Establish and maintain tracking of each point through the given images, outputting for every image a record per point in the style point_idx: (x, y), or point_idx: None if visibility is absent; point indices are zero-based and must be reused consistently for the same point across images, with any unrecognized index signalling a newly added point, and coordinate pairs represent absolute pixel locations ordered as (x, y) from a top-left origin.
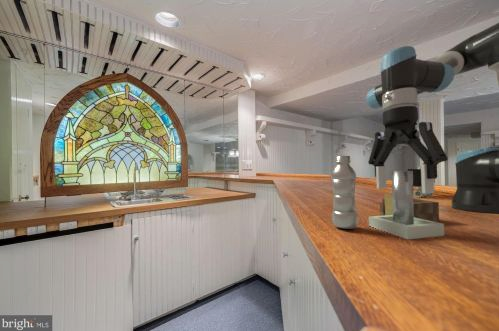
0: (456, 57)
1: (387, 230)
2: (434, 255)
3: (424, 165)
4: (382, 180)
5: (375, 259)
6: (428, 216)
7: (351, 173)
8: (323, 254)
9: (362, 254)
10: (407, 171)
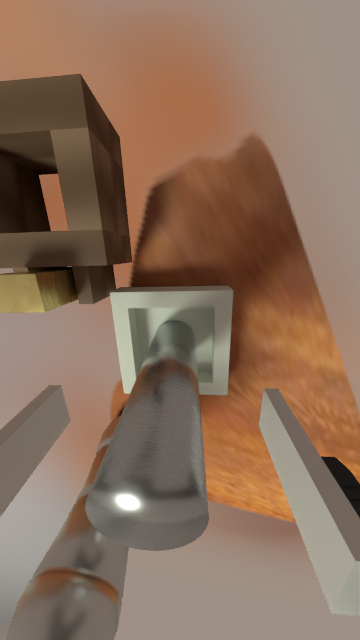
0: None
1: None
2: (287, 403)
3: (355, 607)
4: (37, 437)
5: (266, 472)
6: (116, 185)
7: (110, 637)
8: (233, 506)
9: (248, 474)
10: (204, 528)
